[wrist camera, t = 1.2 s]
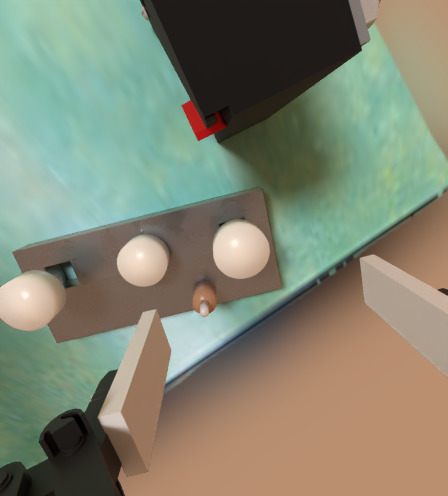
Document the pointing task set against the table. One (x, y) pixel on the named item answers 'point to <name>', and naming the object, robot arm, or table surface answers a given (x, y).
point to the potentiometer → (204, 298)
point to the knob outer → (240, 249)
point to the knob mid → (143, 260)
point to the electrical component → (254, 53)
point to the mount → (175, 278)
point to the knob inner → (31, 300)
